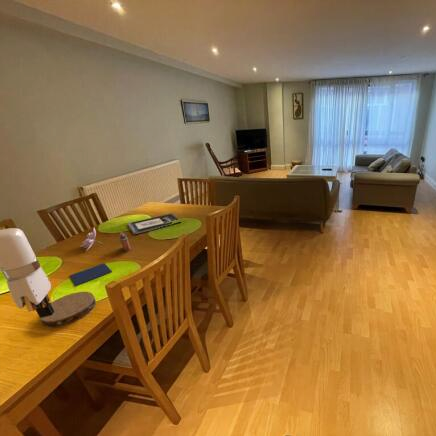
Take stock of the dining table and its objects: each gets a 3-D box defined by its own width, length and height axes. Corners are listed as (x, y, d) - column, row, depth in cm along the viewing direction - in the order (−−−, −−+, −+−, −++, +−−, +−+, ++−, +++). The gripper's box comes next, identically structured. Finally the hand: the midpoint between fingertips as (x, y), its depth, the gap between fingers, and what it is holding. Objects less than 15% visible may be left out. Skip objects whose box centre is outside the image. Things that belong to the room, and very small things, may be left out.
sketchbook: (181, 223, 174) (181, 220, 173) (134, 235, 155) (133, 232, 154) (171, 214, 188) (171, 212, 188) (127, 225, 170) (126, 222, 169)
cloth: (75, 286, 108) (75, 285, 107) (69, 276, 115) (69, 275, 114) (112, 271, 118) (111, 271, 117) (104, 263, 125) (104, 262, 124)
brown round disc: (105, 298, 100) (103, 292, 99) (69, 329, 85) (66, 322, 84) (71, 296, 101) (68, 290, 100) (30, 325, 87) (26, 319, 86)
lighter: (121, 247, 140) (116, 232, 136) (128, 245, 142) (123, 230, 138) (125, 252, 135) (120, 236, 131) (132, 250, 137) (127, 234, 133)
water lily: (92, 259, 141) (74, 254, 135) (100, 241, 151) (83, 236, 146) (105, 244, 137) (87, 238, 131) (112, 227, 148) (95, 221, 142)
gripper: (19, 259, 77) (43, 303, 84) (-12, 286, 64) (20, 336, 71) (49, 253, 80) (70, 297, 87) (25, 279, 67) (52, 327, 74)
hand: (47, 314), depth 79 cm, fingers closed
